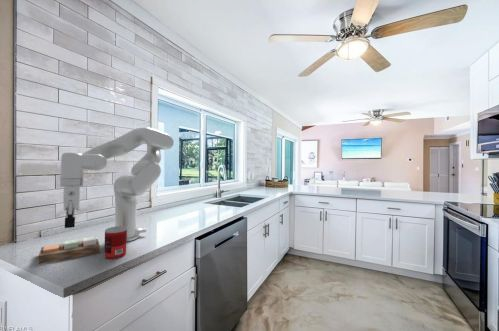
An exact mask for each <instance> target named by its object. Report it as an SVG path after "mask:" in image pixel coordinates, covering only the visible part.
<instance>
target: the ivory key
mask: <svg viewBox="0 0 499 331" xmlns="http://www.w3.org/2000/svg"><path fill="white" fill-rule="evenodd" d="M96 239H97V237H96V236H92V237H91V236H90V237H82V241H83V246H89V245H95V244H96Z"/></svg>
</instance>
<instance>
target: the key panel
mask: <svg viewBox="0 0 499 331" xmlns="http://www.w3.org/2000/svg"><path fill="white" fill-rule="evenodd" d="M58 245H59V250H58V251H52V252H46V253H43V249H44V247H45V246H41V248H40V251H39V254H38V258H37V259H38V260H37V265H41V264H47V263H51V262H52V263H53V262H58V261H64V260H68V259H69V260H70V259H74V258H80V257H85V256H90V255H96V254H100V253H101V251H100V250H101V246H100V242H99V239H98V238H96V244H95V245H89V246H83V240H81V241H79V240H78V247H77V248H70V249H64V243H61V244H60V243H59V244H58Z"/></svg>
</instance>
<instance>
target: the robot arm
mask: <svg viewBox="0 0 499 331" xmlns="http://www.w3.org/2000/svg"><path fill="white" fill-rule="evenodd" d="M142 145H146V152H145V155H144V156H143V157H142V158H141V159H139V160H138V161H137V162H136V163H135V164H134V165H133V166H132V167H131V172H130V174H131V175H120V176H119V177H117V178H116V179H115V180H114V182H113V191H114V192H113V193H114V200H115V202H114V205H115V208H114V227H117V226H124V227H127V242H131V241H135V240H137V239H139V238H140V234H141V233H147V228H137V212H138V210H137V204H138V201H137V197H139V196H142V195H144V194H145V193H146V192H148V190H149V189H151V187H152V186H153V185H154V183H156V181H157V180H158V179H159V177H160V176H161V172H162V169H161V166H160V162H161V160H162V154H161V153H162V152H161V150H163V151H164V150H165V151H166V150H170V149H171V148H172V147H173V146H174V138H173V137H172V136H171V135H170V134H168V133H166V132H163V131H160V130H158V129H155V128H151V127H148V126H147V127H138V128H137V127H136V128H134V129H131V130H130V131H128V132H126V133H124V134H122V135H120V136H118V137H116V138H114V139H111V140H109V141H107V142H105V143H102V144H100V145H98V146H95V147H92V148H91V149H89V150H87V151H85V152H83V153H80V152H63V153H62V154H61V157H60V158H61V159H60V178H59V179H60V180H59V187H63V193H62V194H63V196H62V198H63V201H62V204H63V210H64V212H65V218H64V229H70V228H71V229H72V228H75V224H76V222H75V221H76V217H75V214H76V213H75V212H76V211H77V212H78V211H79V210H80V201H81V200H80V199H81V198H80V197H81V187H84V176H85V175H84V173H85V172H84V171H91V172H98V171H102V170H103V169H105V168H106V167H107V166H108V165H107V164H108V160H109V159H113V158H118V157H121V156H125V155H126V154H129V153H130V152H132V151H133V150H135V149H137V148H138V147H139V146H142ZM75 210H76V211H75Z"/></svg>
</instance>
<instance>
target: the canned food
mask: <svg viewBox="0 0 499 331" xmlns="http://www.w3.org/2000/svg"><path fill="white" fill-rule="evenodd" d="M127 242H128V241H127V227H124V226H117V227H115V226H111V227H107V228H106V229H105V230H104V253H103V254H104V258H105V259H107V258H108V260H113V259H112V258H116V259H119V258H118V257H120V258H122V257H124V256H125V255H126V254H127Z"/></svg>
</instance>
